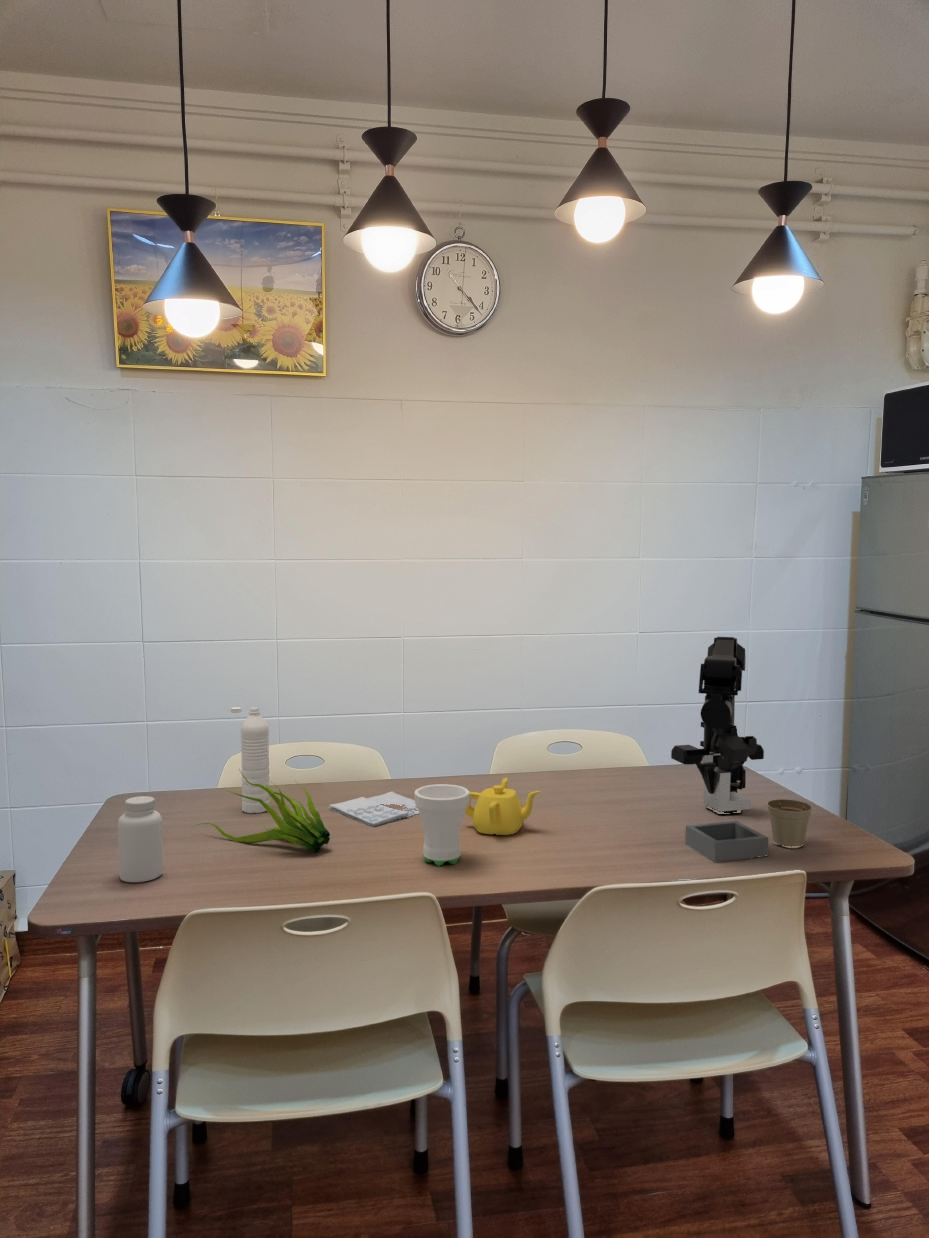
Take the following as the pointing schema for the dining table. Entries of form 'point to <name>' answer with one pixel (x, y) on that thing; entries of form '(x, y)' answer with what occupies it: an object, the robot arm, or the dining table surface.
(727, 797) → the bracket
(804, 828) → the flower pot
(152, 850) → the pill bottle
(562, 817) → the dining table surface
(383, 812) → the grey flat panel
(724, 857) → the bin
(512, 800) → the teapot
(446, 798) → the cup
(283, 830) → the decorative plant
